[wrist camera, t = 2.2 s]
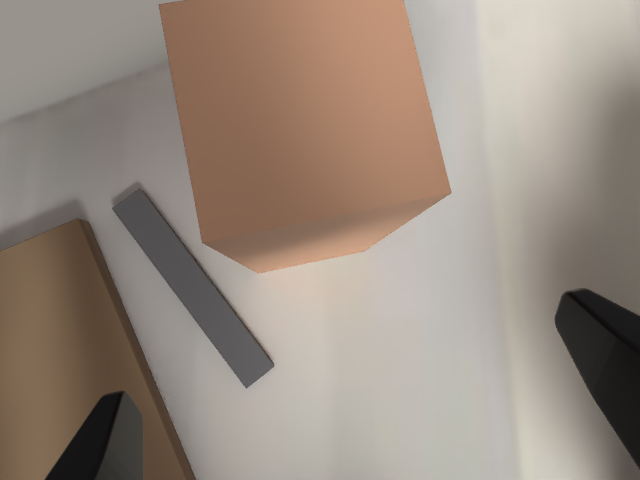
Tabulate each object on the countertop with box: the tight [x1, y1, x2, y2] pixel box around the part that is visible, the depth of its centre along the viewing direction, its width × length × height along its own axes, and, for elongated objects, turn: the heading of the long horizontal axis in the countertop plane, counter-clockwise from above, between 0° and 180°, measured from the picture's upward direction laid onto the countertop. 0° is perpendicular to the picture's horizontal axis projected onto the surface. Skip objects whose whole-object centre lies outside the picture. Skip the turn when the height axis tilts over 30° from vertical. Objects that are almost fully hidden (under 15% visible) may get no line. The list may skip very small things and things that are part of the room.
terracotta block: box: [159, 0, 451, 273], centre depth 15 cm, size 5×5×12 cm
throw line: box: [112, 189, 274, 388], centre depth 20 cm, size 10×2×1 cm, turn 38°
